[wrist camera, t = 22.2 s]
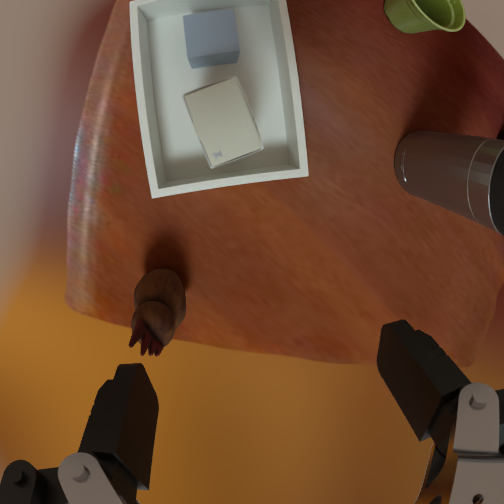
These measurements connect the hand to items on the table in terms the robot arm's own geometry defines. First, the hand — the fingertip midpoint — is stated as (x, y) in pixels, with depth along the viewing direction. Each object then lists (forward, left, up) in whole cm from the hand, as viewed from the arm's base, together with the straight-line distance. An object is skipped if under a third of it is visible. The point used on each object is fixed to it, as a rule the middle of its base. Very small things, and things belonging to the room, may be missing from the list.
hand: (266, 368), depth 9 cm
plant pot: (-26, -24, -28) cm, 45 cm away
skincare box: (0, -8, -28) cm, 29 cm away
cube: (0, -18, -27) cm, 33 cm away
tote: (0, -13, -28) cm, 31 cm away
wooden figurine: (+10, +10, -28) cm, 32 cm away
